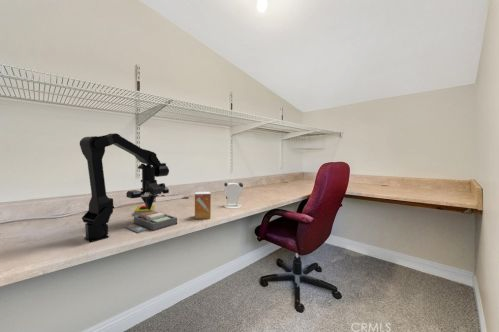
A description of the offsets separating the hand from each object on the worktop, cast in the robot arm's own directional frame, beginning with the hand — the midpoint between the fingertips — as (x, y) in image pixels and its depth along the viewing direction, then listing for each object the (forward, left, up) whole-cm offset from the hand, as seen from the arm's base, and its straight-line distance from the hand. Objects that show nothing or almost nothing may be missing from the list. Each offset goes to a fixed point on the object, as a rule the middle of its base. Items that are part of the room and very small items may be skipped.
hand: (149, 209), depth 109 cm
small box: (+21, -15, -6) cm, 27 cm away
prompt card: (-9, -5, -6) cm, 12 cm away
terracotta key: (0, 0, -4) cm, 4 cm away
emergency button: (+7, +17, -7) cm, 20 cm away
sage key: (0, -11, -5) cm, 12 cm away
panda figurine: (+49, -12, -6) cm, 51 cm away
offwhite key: (0, -5, -4) cm, 7 cm away
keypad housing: (0, -5, -6) cm, 8 cm away
